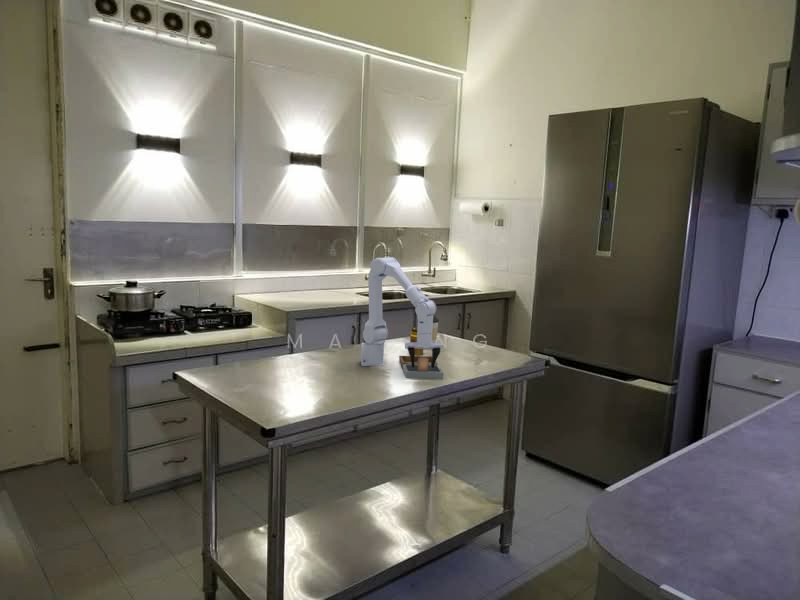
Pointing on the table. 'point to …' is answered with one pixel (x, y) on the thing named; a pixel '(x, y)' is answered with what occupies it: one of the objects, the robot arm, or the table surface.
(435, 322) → the coffee cup
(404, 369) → the bin
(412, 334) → the condiment
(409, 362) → the bin
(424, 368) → the orange tan cylinder
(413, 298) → the robot arm
